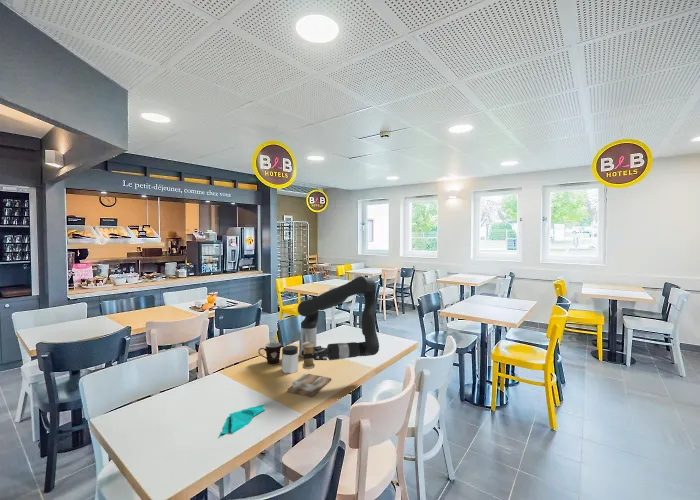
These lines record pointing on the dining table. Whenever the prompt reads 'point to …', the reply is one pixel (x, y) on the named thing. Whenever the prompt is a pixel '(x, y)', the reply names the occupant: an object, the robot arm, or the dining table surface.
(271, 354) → the coffee mug
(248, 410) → the cloth
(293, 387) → the brown board with bracket
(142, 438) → the dining table surface
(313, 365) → the bobbin
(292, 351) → the jar
